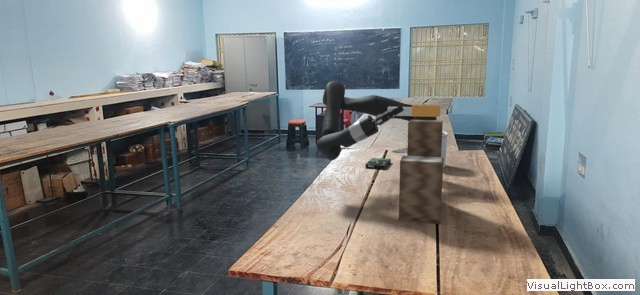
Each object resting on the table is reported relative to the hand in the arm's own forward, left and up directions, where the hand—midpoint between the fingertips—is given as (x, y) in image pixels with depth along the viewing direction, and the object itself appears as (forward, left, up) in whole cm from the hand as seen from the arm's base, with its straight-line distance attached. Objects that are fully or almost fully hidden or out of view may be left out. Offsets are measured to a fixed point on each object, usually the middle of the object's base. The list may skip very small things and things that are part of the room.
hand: (402, 107), depth 156 cm
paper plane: (-60, -71, -38) cm, 100 cm away
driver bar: (-3, +2, -3) cm, 5 cm away
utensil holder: (-46, -36, -37) cm, 70 cm away
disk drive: (-23, -51, -38) cm, 68 cm away
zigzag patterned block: (-1, +11, -37) cm, 39 cm away
